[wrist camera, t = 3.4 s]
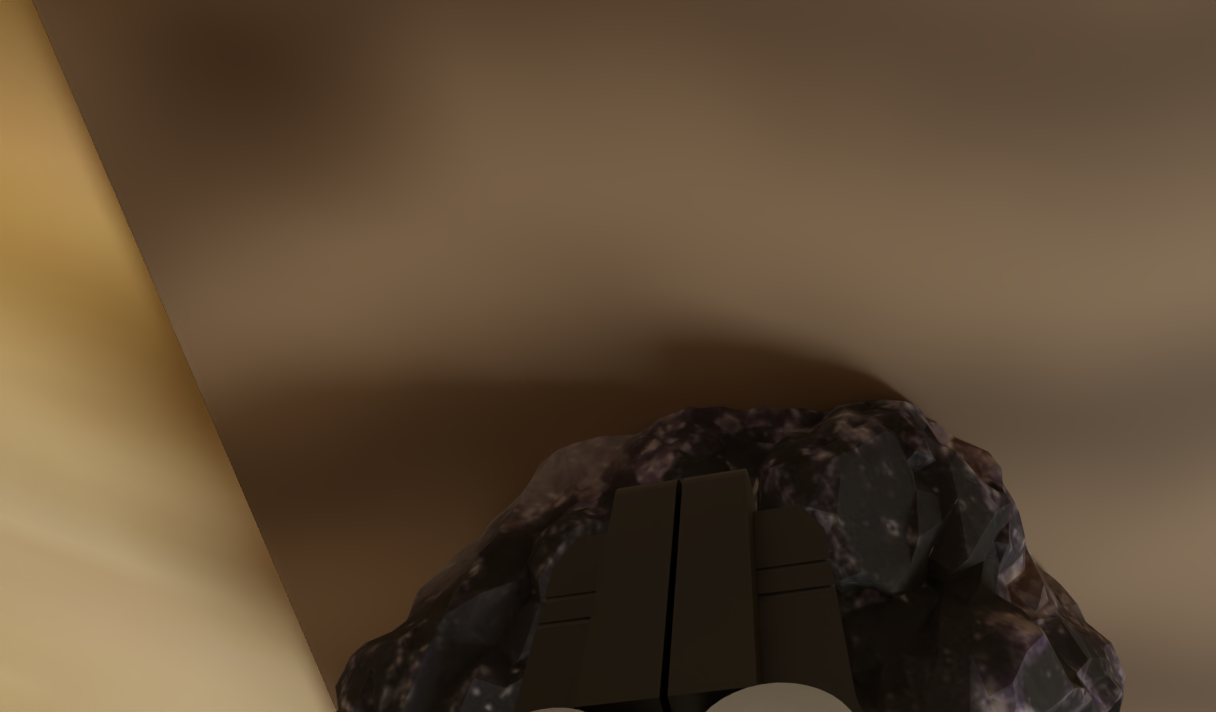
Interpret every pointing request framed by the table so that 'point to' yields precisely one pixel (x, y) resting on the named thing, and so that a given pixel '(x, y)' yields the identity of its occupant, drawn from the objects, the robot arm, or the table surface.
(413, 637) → the black rock
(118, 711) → the table surface
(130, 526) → the table surface
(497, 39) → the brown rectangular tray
